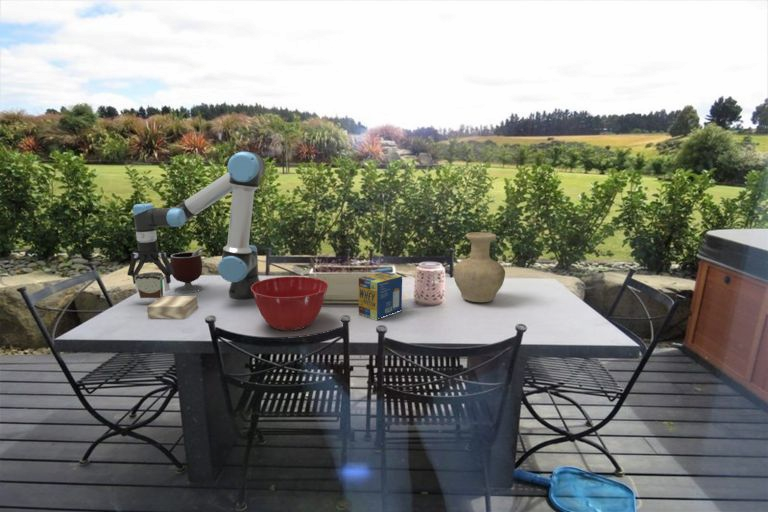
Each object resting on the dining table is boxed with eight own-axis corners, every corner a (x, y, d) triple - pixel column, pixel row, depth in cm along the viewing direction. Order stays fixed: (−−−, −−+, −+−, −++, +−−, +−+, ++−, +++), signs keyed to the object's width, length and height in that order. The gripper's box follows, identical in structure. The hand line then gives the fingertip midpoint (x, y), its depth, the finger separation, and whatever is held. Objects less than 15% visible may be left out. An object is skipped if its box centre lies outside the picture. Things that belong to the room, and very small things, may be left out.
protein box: (358, 314, 183) (357, 277, 180) (383, 306, 194) (384, 271, 191) (376, 321, 176) (376, 282, 173) (402, 311, 188) (403, 275, 184)
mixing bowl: (332, 312, 186) (332, 275, 183) (323, 339, 158) (323, 296, 155) (264, 311, 186) (262, 275, 183) (243, 338, 158) (240, 296, 155)
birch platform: (198, 307, 191) (197, 296, 190) (184, 318, 177) (183, 306, 176) (164, 307, 191) (163, 295, 190) (148, 318, 177) (146, 306, 176)
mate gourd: (178, 295, 207) (174, 252, 203) (168, 289, 217) (164, 248, 213) (212, 289, 217) (209, 248, 213) (200, 283, 227) (197, 244, 223)
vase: (508, 308, 193) (513, 239, 186) (456, 307, 193) (459, 238, 187) (497, 293, 215) (500, 230, 208) (449, 292, 215) (452, 230, 209)
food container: (172, 294, 197) (169, 272, 195) (164, 298, 191) (161, 275, 189) (145, 293, 198) (142, 271, 196) (136, 298, 192) (133, 275, 190)
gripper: (113, 242, 186) (120, 293, 190) (171, 242, 186) (177, 292, 191) (123, 239, 193) (130, 288, 198) (179, 238, 193) (184, 288, 198)
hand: (153, 290), depth 194 cm, fingers closed on food container, 11 cm apart
